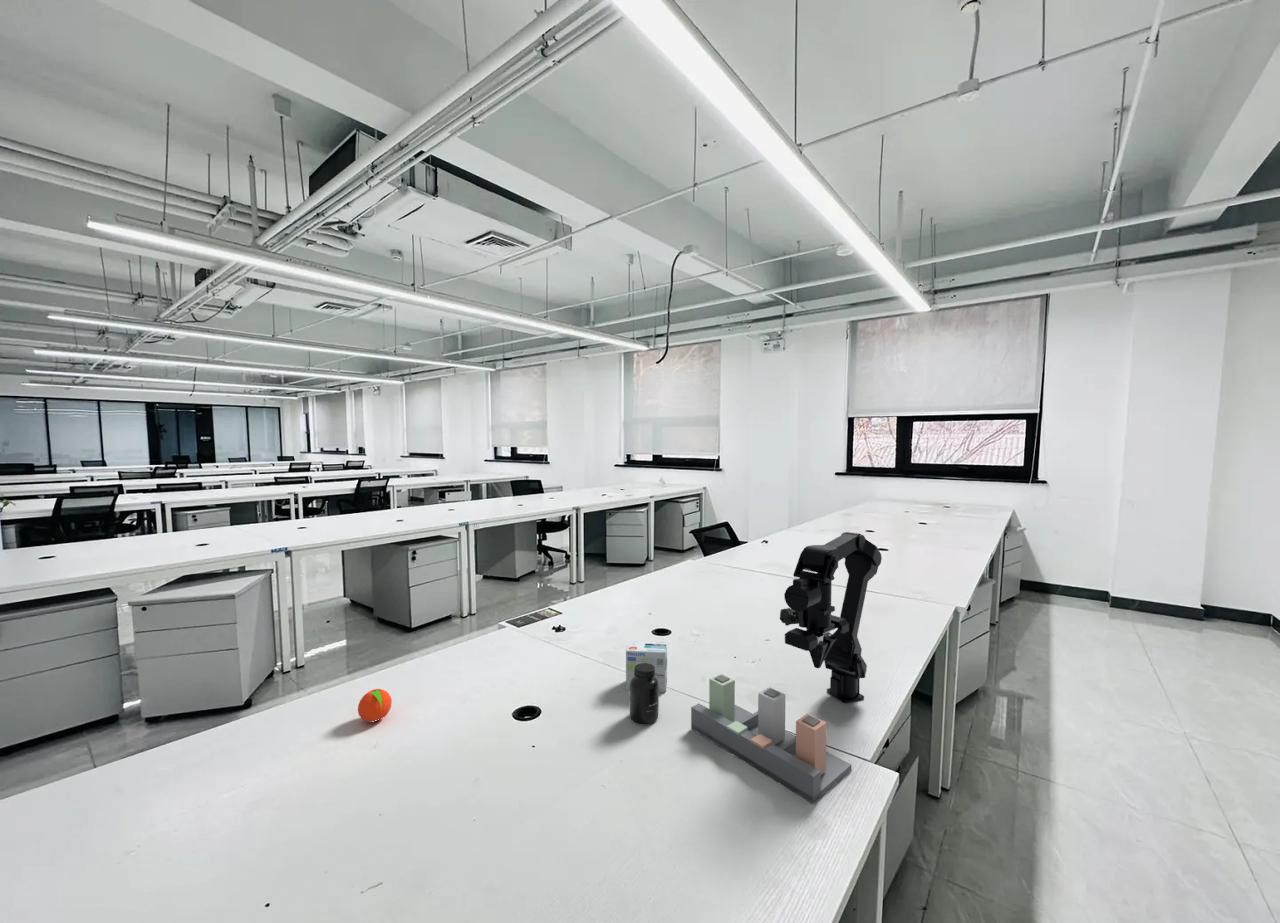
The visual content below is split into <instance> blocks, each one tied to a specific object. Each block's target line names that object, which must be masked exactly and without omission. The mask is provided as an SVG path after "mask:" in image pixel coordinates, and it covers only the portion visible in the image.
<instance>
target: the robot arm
mask: <svg viewBox="0 0 1280 923" xmlns="http://www.w3.org/2000/svg"><path fill="white" fill-rule="evenodd" d="M843 559H844V566H845V569H846V571H847V575H848V578H847V582H846V587H845V593H844V597H843V602H842V606H841V611H840V616H837V615H833V614H832V613H834V612H836V607H835V606H834V605H832V582H833V581H834V580H835V576H834V575H835V573H836V570H838V568H839V561H841V560H843ZM881 563H882V553H881V552H880V550H879V548H878V546H876V544H874V543H872V542H871V541H870V540H868V539H866V537H865V535H864V534H861V533H857V532H849V531H845V532H842V533H841V535H840V536H837V537H835V538H834V539H832V540H830V541H828V542H826V543H825V544H811V545H807V546H805V547H803V550H802V551H801V552H800V555H799V558H798V561H797V562H796V565H795V569H794V572H793V577H795V578H794V579H793V580H792V585H789V586H788V587H787V588H786V589H785V592H784V596H783V597H784V601H785V603H786V606H788V607H787V608H782V609H780V613H779V620H780V621H781V623H782V624H785V626H787V627H788V626H790V625H798V627H799V628H798V627H795V628H793V629H791V630H788V631H787V632H786V633H784V643H785V645H788V646H792V647H794V648H797V649H800V650H803V651H805V652H809V654H810V658H811V661H812V664H813V667H814V668H816V669H820V668H821V666H822V665H823V663H824V666H825V669H827V670H830V672H831V676H830V683H829V684H830V685H829V688H826V692H827V693H829V694H830V695H831V696H833V697H835V698H837V699H838V700H839V701H841V702H842V703H850V702H855V701H860V700H863V699H865V696H864V695H863V694H861V693H860V679H865V678H866V674H867V668H868V666H867V663H866V662H865V660H864V658H863V656H862V649H863V648H862V646H861V643H860V641H859V638H858V635H859V634H858V633H859V629H860V628H859V627H860V624H861V619H862V614H863V609H864V605H865V604H864V603H865V599H866V598H865V597H866V593H867V590H868V589H867V588H868V583H869V581H871V579H872V578H874V577H875V576H876V575H877V573H878V571H879V570H878V569H879V567H880V565H881ZM801 628H805V629H806V630H804V629H801ZM835 629H837V630H835ZM834 630H835V631H834ZM832 631H834V632H833V633H831V632H832Z"/></svg>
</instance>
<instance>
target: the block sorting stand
mask: <svg viewBox="0 0 1280 923" xmlns="http://www.w3.org/2000/svg"><path fill="white" fill-rule="evenodd" d="M690 708H691V710H690V712H691V713H690V714H691V717H690V719H691V720H690V722H691V723H690V729H691V730H692V731H694V732H696V733H697V734H699V735H700V736H702V737H704V738H705V739H707V740H708V741H710V742H712V743H713V744H715V745H716V746H718V747H720V748H721V749H724V750H725V751H726V752H728V753H729V754H731V755H732V756H734V757H736V758H738V759H739V760H741V761H742V762H744V763H746V764H747V765H749V766H750V767H752V768H754V769H755V770H757V771H759V772H760V773H761V774H763V775H765V776H766V777H768V778H770V779H771V780H773V781H775V782H776V783H778V784H780V785H781V786H783V787H784V788H785V789H788V790H790V791H791V792H792V793H794V794H796V795H797V796H799V797H800V798H802V799H804V800H805V801H807V802H809V803H810V804H812V805H815V804H816V803H817V802H818V801H819V800H820V799H821V798H822V797H823V796H824V795H826V794H827V793H828V792H829V791H830V790H831V789H832V788H833V787H835V786H836V785H837V784H838V783H839V782H841V781H842V780H843V779H844V778H845V777H846V776H847V775H848V774H849V773H850V772H851V771H852V764H851V763H849V762H847V761H845V760H843V759H841V758H840V757H838V756H836V755H834V754H832V753H831V752H828V751H826V771H825V772H824V773H823V774H822V775H821V770H819V769H817V768H815V767H813V766H811V765H810V764H808V763H806V762H804V761H802V760H801V759H799V758H797V757H796V734H795V735H794V733H791V732H789V731H787V730H785V739H783V740H782V741H780V742H779V743H777V744H776V745H773V744H772V740H771V739H769V738H767V737H765V736H763V735H761V734H758V710H757V711H755V712H754V713H752V712H750V711H748V710H746V709H744V708H742V707H741V706H738V705H737V704H735V721H734V722H732V721H730V720H728V719H726V718H725V717H723V716H721V715H719V714H717V713H716V712H714V711H712V710H710V709H709V707H706V706H705V705H703V704H701V703H696V704H695V705H693V706H691V707H690ZM844 776H845V777H844ZM843 777H844V778H843ZM836 783H837V784H836ZM835 784H836V785H835ZM827 791H828V792H827ZM826 792H827V793H826Z"/></svg>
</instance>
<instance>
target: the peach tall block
mask: <svg viewBox="0 0 1280 923" xmlns="http://www.w3.org/2000/svg"><path fill="white" fill-rule="evenodd" d="M795 736H796V757H797V758H799V759H801V760H802V761H804V762H806V763H808V764H810V765H811V766H813V767H815V768H817V769H819V770H821V775H822V774H823V773H824V772H825V771H826V752H827V722H826V721H825V720H822V719H820V718H818V717H816V716H813V715H811V714H809V713H806V714H805V715H803V716H801V717H800V718H798V719H797V720H795Z"/></svg>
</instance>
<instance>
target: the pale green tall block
mask: <svg viewBox="0 0 1280 923" xmlns="http://www.w3.org/2000/svg"><path fill="white" fill-rule="evenodd" d="M735 680H736V679H734V678H732V677H729V676H727V675H725V674H723V673H719V674H717V675H715V676H713V677H711V678H709V689H708V690H709V693H708V694H709V695H708V696H709V700H708V701H709V703H708V704H709V705H708V706H709V707H708V709H710V710H712V711H714V712H716V713H717V714H719V715H721V716H723V717H725V718H726V719H728V720H730V721H732V722H734V721H735V705H736V703H735V702H736V701H735V700H736V699H735V698H736V696H735V692H736V689H735V688H736V685H735V684H736V683H735V682H736V681H735Z"/></svg>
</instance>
